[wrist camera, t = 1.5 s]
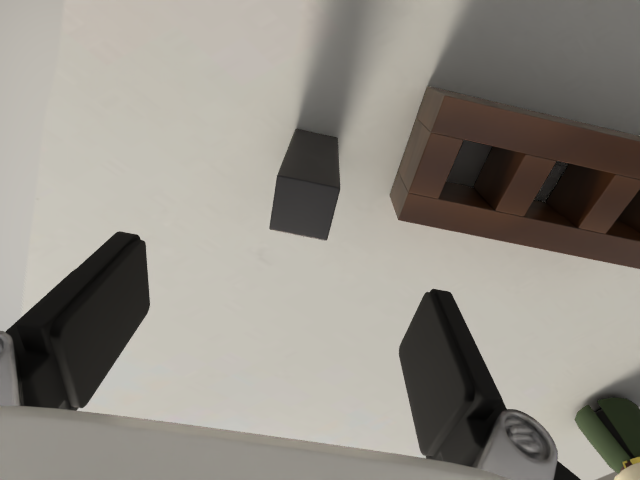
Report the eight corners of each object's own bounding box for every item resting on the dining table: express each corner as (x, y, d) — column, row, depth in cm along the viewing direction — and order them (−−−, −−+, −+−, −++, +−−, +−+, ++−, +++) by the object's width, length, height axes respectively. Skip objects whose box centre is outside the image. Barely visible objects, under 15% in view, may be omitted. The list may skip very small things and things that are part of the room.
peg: (295, 128, 23) (277, 174, 15) (337, 137, 23) (340, 188, 16) (288, 169, 25) (268, 230, 17) (328, 177, 25) (327, 241, 17)
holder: (427, 85, 21) (444, 95, 18) (696, 149, 23) (760, 169, 20) (389, 195, 25) (398, 220, 22) (620, 243, 27) (662, 274, 24)
